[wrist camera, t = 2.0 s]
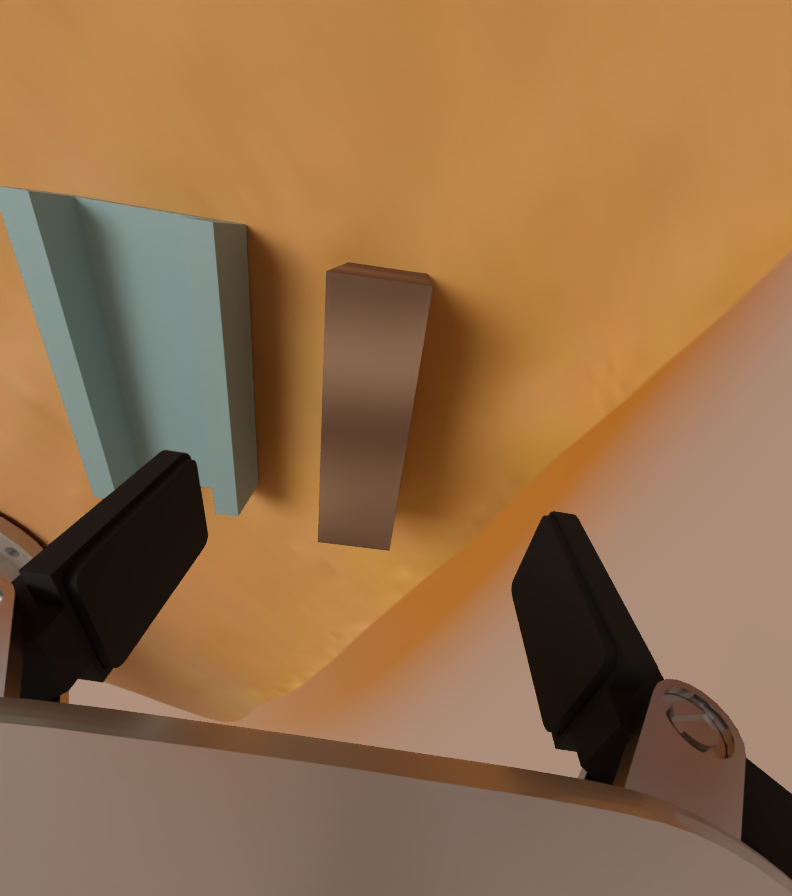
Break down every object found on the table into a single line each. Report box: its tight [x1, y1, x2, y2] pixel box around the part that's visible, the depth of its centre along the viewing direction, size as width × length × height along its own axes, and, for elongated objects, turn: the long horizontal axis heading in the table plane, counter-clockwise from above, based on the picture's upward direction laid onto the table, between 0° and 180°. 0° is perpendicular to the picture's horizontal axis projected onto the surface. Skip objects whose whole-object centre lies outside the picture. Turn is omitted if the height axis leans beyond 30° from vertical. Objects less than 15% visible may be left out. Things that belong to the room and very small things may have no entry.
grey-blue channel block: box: [0, 186, 258, 516], centre depth 17 cm, size 14×8×3 cm, turn 171°
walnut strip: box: [318, 262, 433, 551], centre depth 17 cm, size 12×4×5 cm, turn 173°
